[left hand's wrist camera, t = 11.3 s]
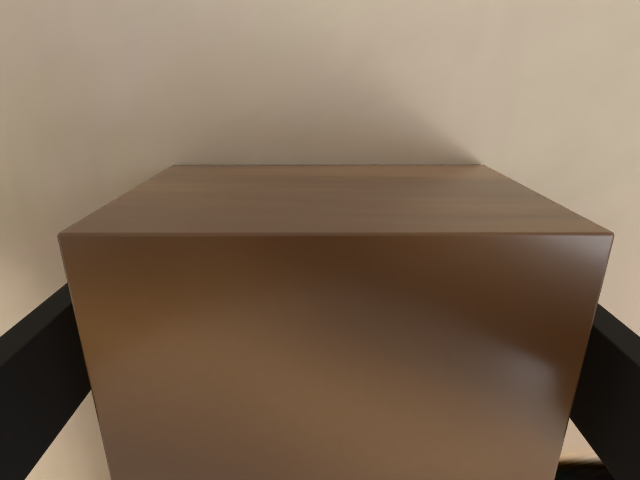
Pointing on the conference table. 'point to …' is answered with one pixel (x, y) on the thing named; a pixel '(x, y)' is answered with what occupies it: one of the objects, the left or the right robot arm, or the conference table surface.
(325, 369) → the slab
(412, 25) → the conference table surface
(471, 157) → the conference table surface
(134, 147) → the conference table surface
